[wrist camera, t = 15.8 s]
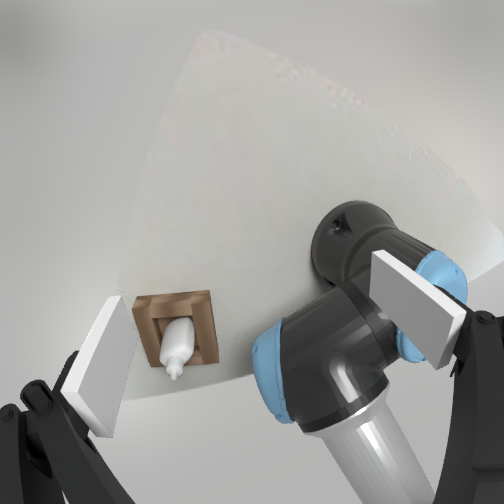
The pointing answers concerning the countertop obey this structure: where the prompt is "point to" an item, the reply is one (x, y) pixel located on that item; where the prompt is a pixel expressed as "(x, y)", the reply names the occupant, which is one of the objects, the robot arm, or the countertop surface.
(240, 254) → the countertop surface
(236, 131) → the countertop surface
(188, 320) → the eye dropper bottle
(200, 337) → the walnut bottle stand
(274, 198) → the countertop surface
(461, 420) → the robot arm
